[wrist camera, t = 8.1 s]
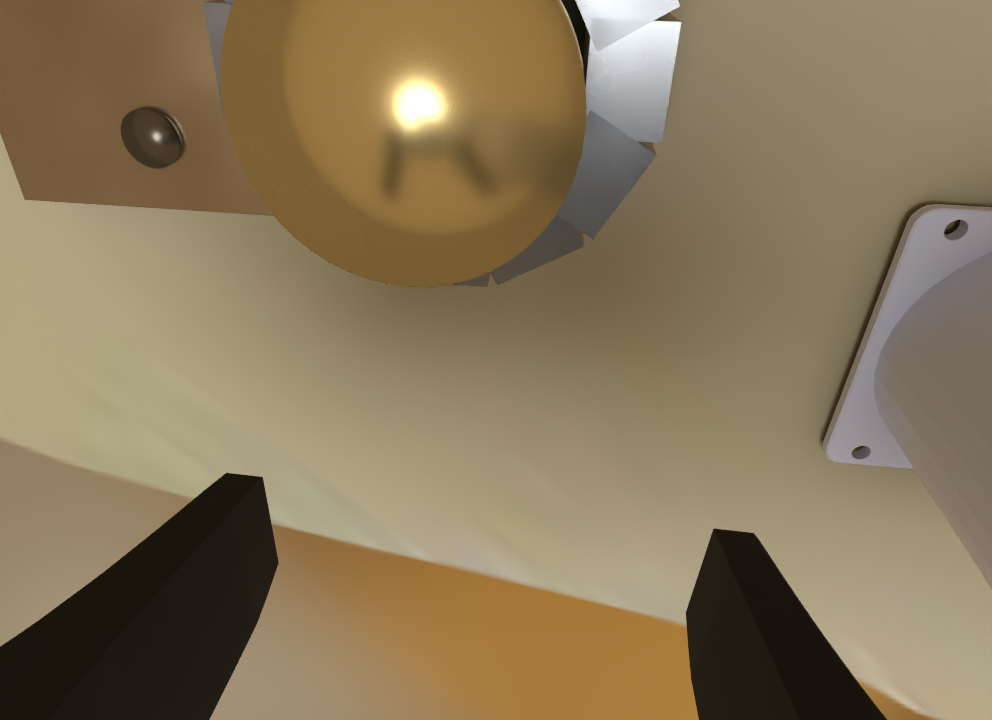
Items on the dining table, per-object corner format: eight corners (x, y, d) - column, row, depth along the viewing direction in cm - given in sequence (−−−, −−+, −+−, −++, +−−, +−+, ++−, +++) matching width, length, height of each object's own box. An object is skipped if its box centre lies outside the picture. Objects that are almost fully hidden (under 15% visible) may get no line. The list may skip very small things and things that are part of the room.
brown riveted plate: (682, -184, 13) (698, -202, 11) (624, 228, 17) (629, 256, 16) (-75, -199, 14) (-160, -218, 12) (57, 192, 18) (7, 216, 17)
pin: (574, -96, 14) (576, -136, 8) (586, 156, 16) (594, 276, 10) (336, -62, 14) (164, -73, 8) (384, 174, 17) (280, 296, 11)
